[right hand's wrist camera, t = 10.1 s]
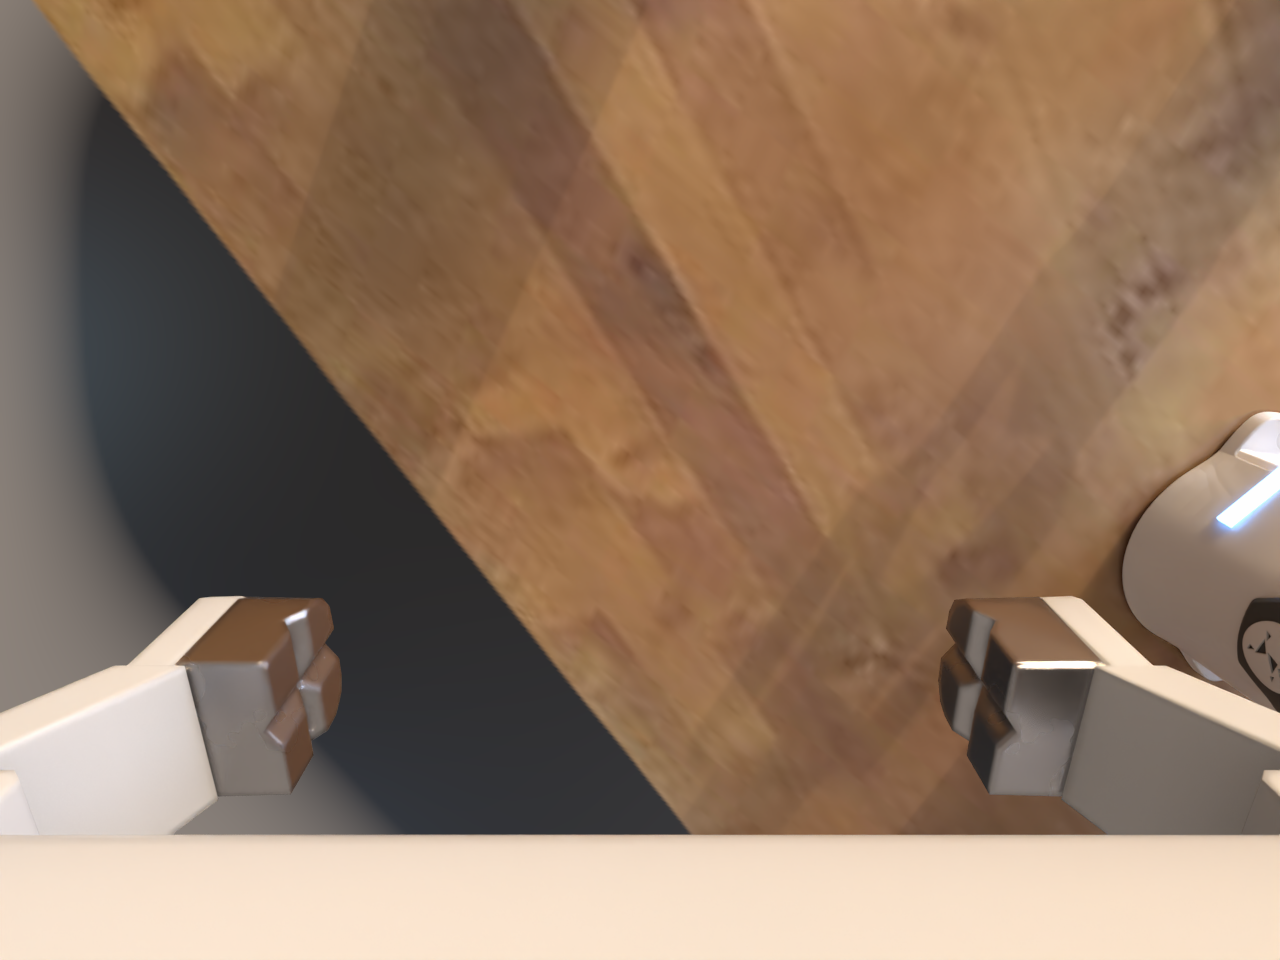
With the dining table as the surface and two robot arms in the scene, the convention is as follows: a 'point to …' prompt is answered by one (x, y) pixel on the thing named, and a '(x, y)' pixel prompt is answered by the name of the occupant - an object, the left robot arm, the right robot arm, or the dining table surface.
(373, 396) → the dining table surface
